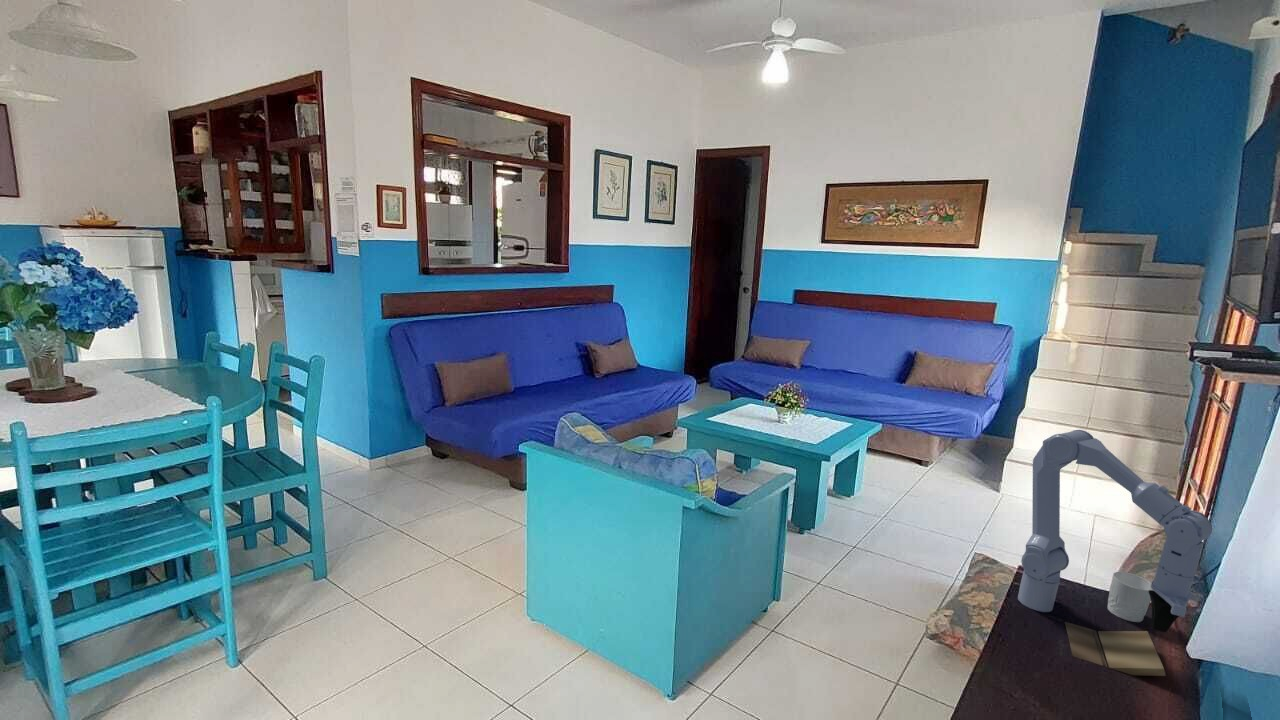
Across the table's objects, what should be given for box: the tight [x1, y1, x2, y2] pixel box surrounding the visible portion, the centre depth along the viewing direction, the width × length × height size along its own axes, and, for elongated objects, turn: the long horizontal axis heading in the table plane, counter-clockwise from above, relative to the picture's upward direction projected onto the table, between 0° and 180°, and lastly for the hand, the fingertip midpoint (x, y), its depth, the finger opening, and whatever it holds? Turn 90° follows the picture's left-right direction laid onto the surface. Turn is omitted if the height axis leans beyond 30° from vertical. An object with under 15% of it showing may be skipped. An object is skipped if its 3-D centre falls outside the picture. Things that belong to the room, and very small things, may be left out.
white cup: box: [1107, 571, 1154, 623], centre depth 151 cm, size 8×8×10 cm
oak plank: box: [1097, 630, 1167, 677], centre depth 135 cm, size 14×9×2 cm, turn 153°
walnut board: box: [1064, 621, 1108, 668], centre depth 139 cm, size 14×6×2 cm, turn 153°
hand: (1158, 629), depth 132 cm, fingers closed
